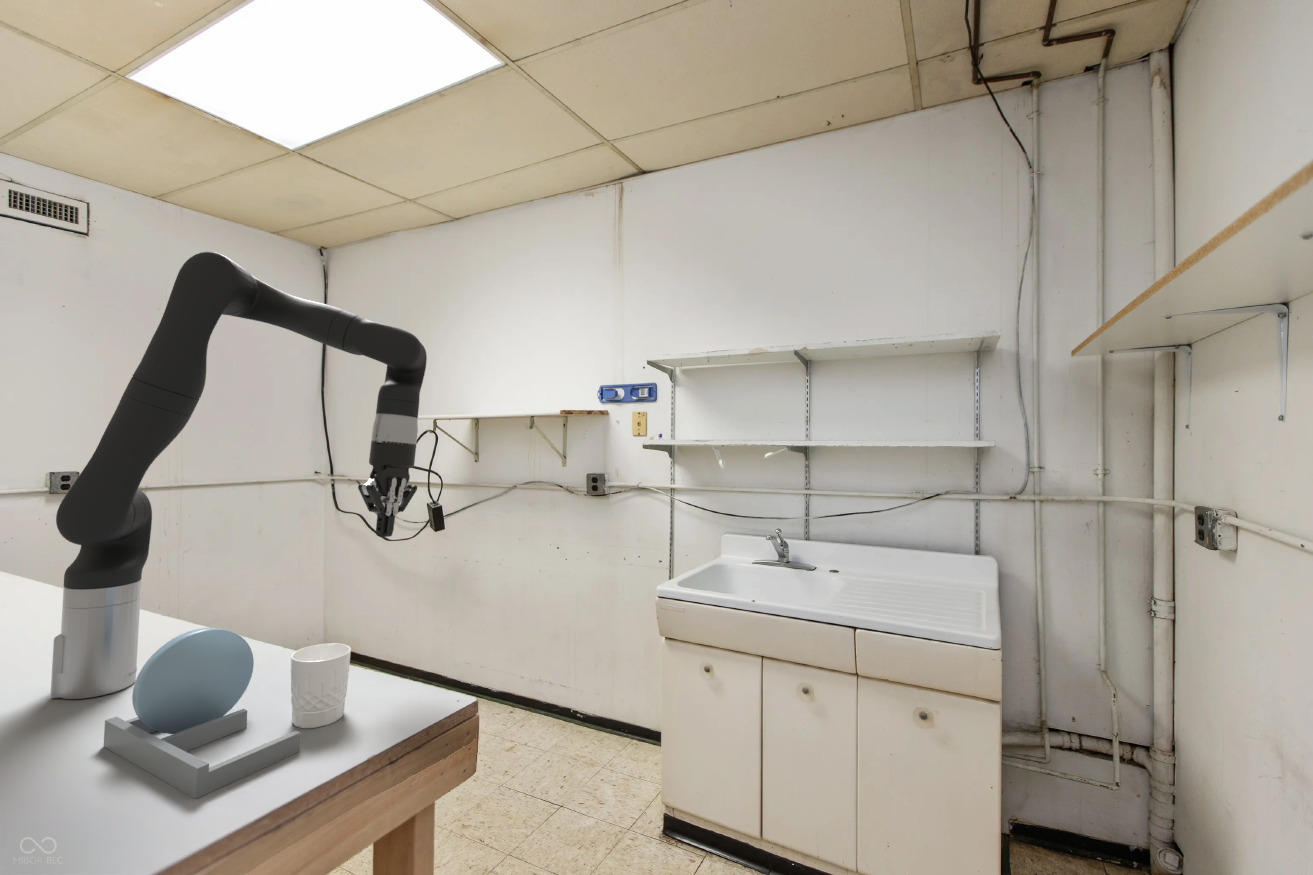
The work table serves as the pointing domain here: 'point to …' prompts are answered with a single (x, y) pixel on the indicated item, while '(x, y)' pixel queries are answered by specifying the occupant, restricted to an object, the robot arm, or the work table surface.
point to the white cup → (319, 684)
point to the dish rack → (193, 712)
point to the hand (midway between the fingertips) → (383, 536)
